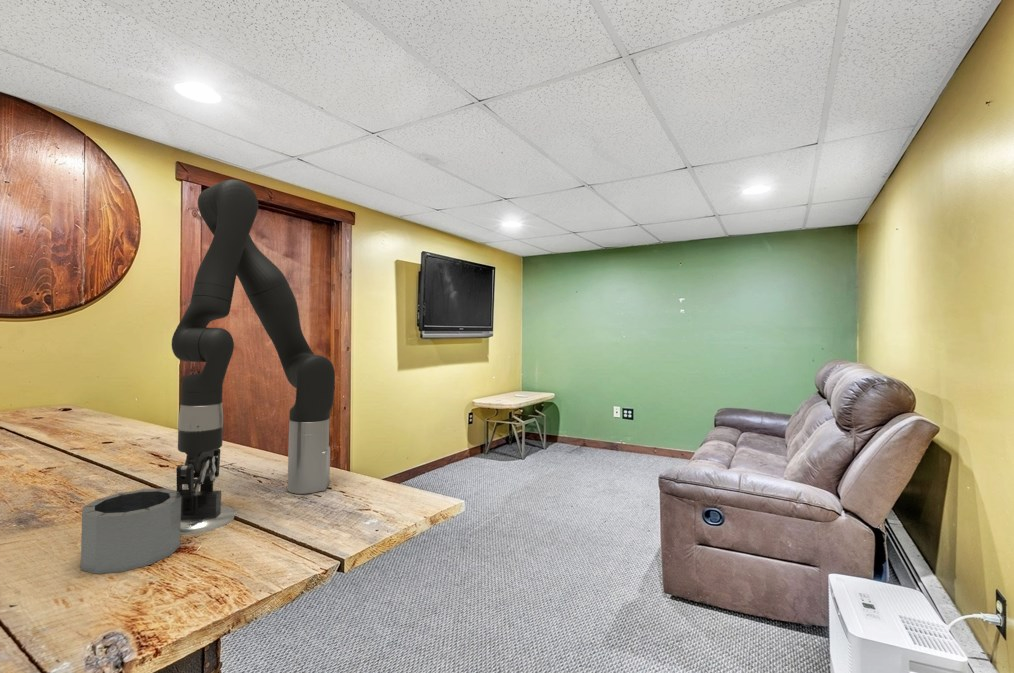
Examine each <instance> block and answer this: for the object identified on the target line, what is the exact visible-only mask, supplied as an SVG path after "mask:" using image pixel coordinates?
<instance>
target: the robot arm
mask: <svg viewBox="0 0 1014 673" xmlns="http://www.w3.org/2000/svg"><path fill="white" fill-rule="evenodd" d="M197 208H198V211H199V213H200V216H201V218H202V220H203V221H204V222H205V225H206V226H207V227H208V229H209V231H210V232H211V233H212V235H213V237H212V239H211V243H210V245H209V247H208V249H207V252H206V253H205V255H204V257H203V259H202V261H201V263H200V264H199V266H198V269H197V272H196V275H195V279H194V282H193V288H192V293H191V297H190V303H189V305H188V307H187V309H186V310H185V312H184V314H183V316H182V318H181V320H180V322H179V323H178V324H177V326H176V329H175V330H174V332H173V335H172V338H171V351H172V353H173V355H174V356H175V358H176V359H178V360H180V361H182V362H191V363H192V362H193V363H204V366H203V369H202V370H201V371H200V372H197V373H193V374H192V373H191V374H188V375H185V376H184V377H183V378H182V380H181V384H180V406H179V407H180V408H179V413H178V425H177V427H178V430H177V451H179V452H180V453H183V454H186V458H185V462H184V464H182V465H181V464H180V465H177V466H176V491H179V493H180V495H181V496H182V497H184V498H183V515H185V516H188V515H195V514H196V513H197V507H198V495H197V494H198V491H214V483H215V482H216V478H219V477H220V476H219V475H220V468H221V467H220V464H221V447H222V446H223V436H224V435H223V433H224V431H223V429H224V409H223V384H224V380H225V377H226V374H227V370H228V367H229V365H230V361H231V359H232V356H233V353H234V351H235V350H234V349H235V343H234V339H233V336H232V334H231V333H230V332H229V331H228V330H227V329H225V328H223V327H207V326H208V325H209V324H210V323H211V322H213V321H216V320H220V319H224V318H226V317H227V316H229V315H230V311H231V307H232V302H233V297H234V296H233V295H234V289H235V285H236V284H235V283H236V279H237V278H238V281H239V282H240V284H241V286H242V288H243V291H244V292H245V295H246V297H247V299H248V301H249V303H250V304H251V307H252V308H253V310H254V312H255V314H256V316H257V317H258V319H259V321H260V323H261V325H262V326H263V329H264V330H265V333H266V334H267V335H268V337H269V339H270V341H271V342H272V344H273V346H274V348H275V350H276V353H277V355H278V358H279V361H280V363H281V366H282V368H283V372H284V374H285V376H286V379H287V381H288V383H289V384H290V385H291V386H292V387H294V388H295V389H296V391H295V392H296V393H295V401H294V405H293V406H292V407H291V408H290V409H289V419H288V420H289V422H288V423H289V425H288V426H289V427H288V455H287V482H286V483H287V485H286V487H287V491H288V493H291V494H296V495H298V494H299V495H301V494H302V495H304V494H313V493H318V492H325V491H326V490H327V488H328V486H329V485H330V479H331V478H330V477H331V476H330V475H331V474H330V472H331V446H330V445H329V444H330V422H331V421H330V420H331V419H330V417H331V416H330V414H331V410H332V408H333V406H334V399H335V398H334V397H335V383H336V382H335V381H336V376H335V375H336V374H335V373H336V372H335V367H334V365H333V362H332V361H331V360H330V359H329V358H328V357H326V356H323V355H320V354H315V353H314V352H313V350H312V349H311V347H310V346H309V343H308V342H307V340H306V338H305V336H304V333H303V331H302V327H301V320H300V313H299V307H298V303H297V299H296V296H295V294H294V293H293V290H292V288H291V286H290V284H289V281H288V279H287V278H286V276H285V274H284V273H283V272H282V271H281V270H280V268H279V267H278V266H277V265H275V263H274V262H272V261H271V259H269V258H268V257H267V255H265V254H264V253H263V252H262V251H261V250H260V249H259V247H257V245H256V244H255V242H254V240H253V239H252V237H251V235H250V233H251V230H252V228H253V224H254V222H255V219H256V217H257V213H258V210H259V201H258V196H257V194H256V193H255V190H253V188H252V187H251V186H250V185H249V184H248V183H246V182H245V181H242V180H239V179H226V180H223V181H220V182H217V183H215V184H214V185H212V186H209V187H207V188H206V189H204V190H203V191H202V192H200V194H199V195H198V198H197Z"/></svg>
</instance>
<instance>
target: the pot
mask: <svg viewBox="0 0 1014 673" xmlns="http://www.w3.org/2000/svg"><path fill="white" fill-rule="evenodd" d="M180 526H181V495H180V493H179V491H177V489H171V488H163V487H162V488H143V489H138V490H131V491H125V492H118V493H115V494H111V495H107V496H105V497H101V498H97V499H95V500H94V501H91V502H90V503H88V504H85V505H84V506H82V512H81V541H80V542H81V544H80V545H81V546H80V549H81V550H80V571H84V572H87V573H91V574H94V575H100V574H112V573H116V574H117V573H122V572H127V571H132V570H135V569H140V568H143V567H146V566H149V565H152V564H154V563H157V562H159V561H161V560H164V559H165V558H169V557H170V556H171V555H173V554H174V552H176V551H177V550H178V549H179V548H180V547H181V535H180Z"/></svg>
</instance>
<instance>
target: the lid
mask: <svg viewBox="0 0 1014 673" xmlns="http://www.w3.org/2000/svg"><path fill="white" fill-rule="evenodd" d="M197 495H198V507H197V513H196V514H195V515H188V516H185V515H183V498H184V497H182V496H181V526H180V536H185V535H188V536H189V535H195V534H201V533H206V532H210V531H213V530H216V529H220V528H221V527H224V526H226V525H228V524H229V523H231V522H232V521H233V520H234V519H235V514H236V513H235V509H234V508H232V507H231V506H226V505H222V490H213V491H200V490H199V491H198V494H197Z"/></svg>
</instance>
